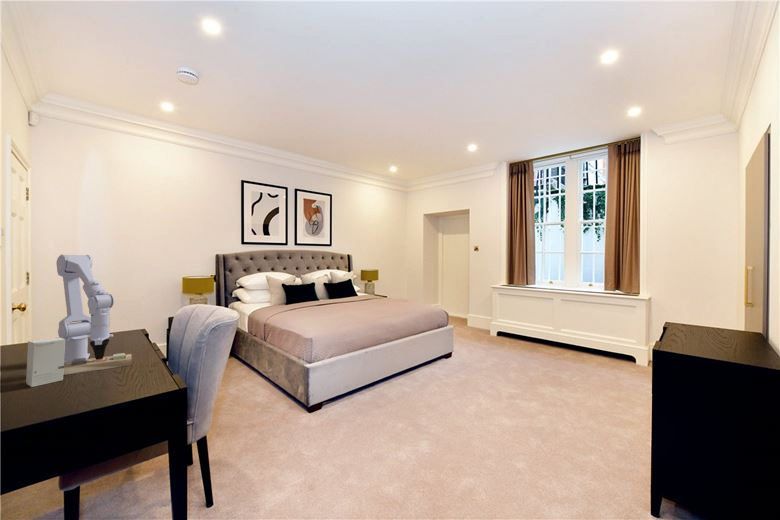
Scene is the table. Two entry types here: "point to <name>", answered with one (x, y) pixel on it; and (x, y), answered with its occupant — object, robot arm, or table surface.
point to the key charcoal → (79, 361)
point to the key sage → (119, 356)
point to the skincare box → (45, 361)
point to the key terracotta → (99, 360)
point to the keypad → (96, 365)
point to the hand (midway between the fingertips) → (99, 358)
